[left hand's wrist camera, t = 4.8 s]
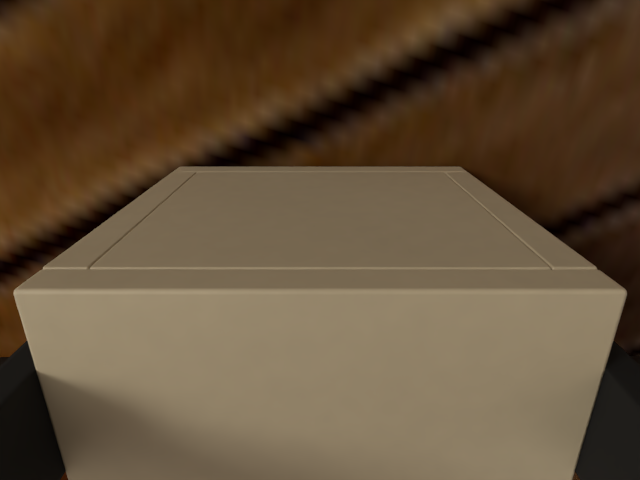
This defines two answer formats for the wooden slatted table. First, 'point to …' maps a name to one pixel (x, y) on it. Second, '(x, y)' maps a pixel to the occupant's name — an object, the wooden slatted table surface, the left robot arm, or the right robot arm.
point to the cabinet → (320, 332)
